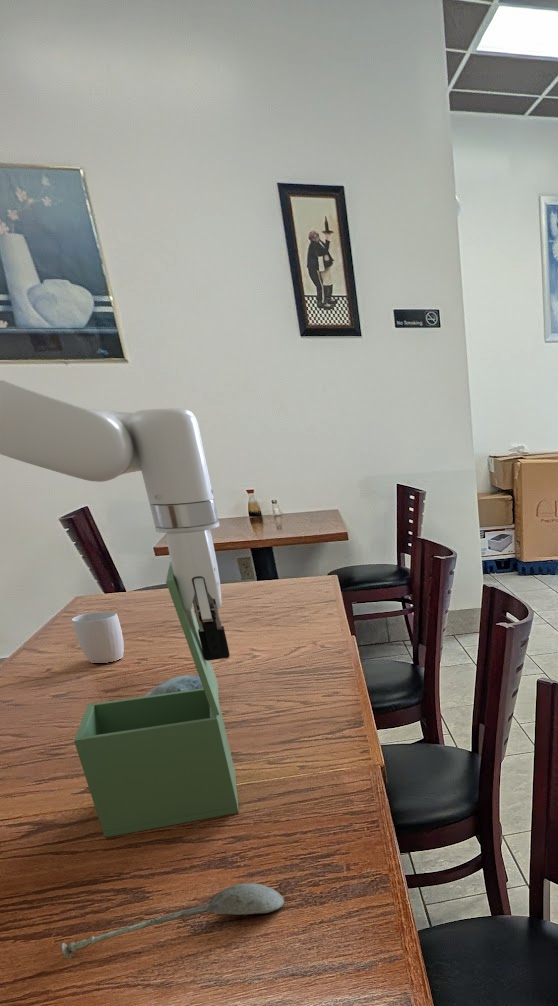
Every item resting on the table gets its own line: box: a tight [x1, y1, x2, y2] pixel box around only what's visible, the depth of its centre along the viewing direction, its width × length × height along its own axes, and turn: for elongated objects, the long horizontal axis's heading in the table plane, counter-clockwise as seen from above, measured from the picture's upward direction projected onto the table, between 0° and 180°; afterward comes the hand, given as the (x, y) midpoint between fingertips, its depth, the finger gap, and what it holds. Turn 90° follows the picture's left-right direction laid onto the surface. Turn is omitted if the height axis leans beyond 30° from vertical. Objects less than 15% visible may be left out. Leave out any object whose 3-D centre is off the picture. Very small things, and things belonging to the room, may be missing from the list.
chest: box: [73, 688, 240, 839], centre depth 114 cm, size 17×15×14 cm
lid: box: [165, 561, 220, 716], centre depth 109 cm, size 18×15×1 cm
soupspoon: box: [61, 882, 285, 960], centre depth 88 cm, size 22×3×7 cm
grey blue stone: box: [144, 674, 203, 696], centre depth 155 cm, size 9×12×5 cm
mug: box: [71, 611, 125, 664], centre depth 184 cm, size 13×9×10 cm
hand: (217, 657), depth 111 cm, fingers closed
